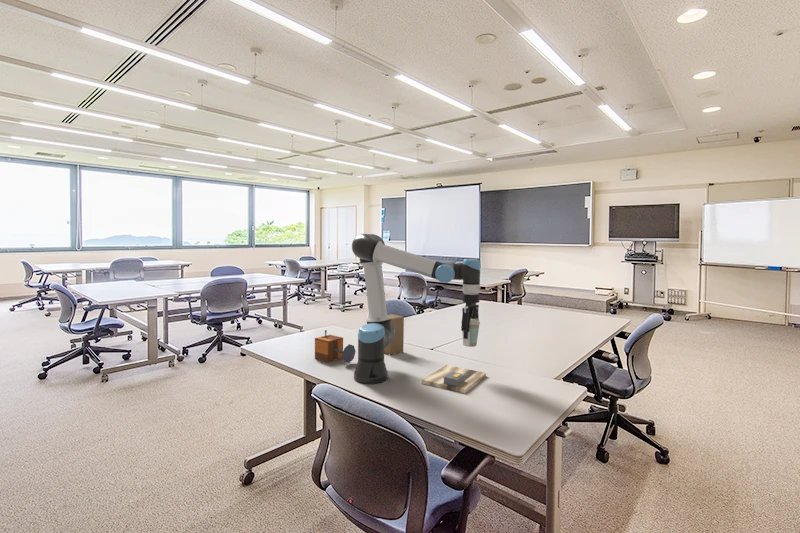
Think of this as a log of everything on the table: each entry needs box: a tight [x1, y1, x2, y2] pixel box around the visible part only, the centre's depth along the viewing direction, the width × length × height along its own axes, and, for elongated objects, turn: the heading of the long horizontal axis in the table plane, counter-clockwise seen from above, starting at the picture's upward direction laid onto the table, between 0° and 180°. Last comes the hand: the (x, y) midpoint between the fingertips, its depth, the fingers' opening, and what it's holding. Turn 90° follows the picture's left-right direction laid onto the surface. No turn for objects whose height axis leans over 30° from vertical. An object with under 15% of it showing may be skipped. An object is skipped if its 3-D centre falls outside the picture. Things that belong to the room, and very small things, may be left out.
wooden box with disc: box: [314, 329, 357, 364], centre depth 199 cm, size 11×20×14 cm, turn 51°
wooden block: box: [384, 313, 405, 356], centre depth 215 cm, size 10×10×20 cm
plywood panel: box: [421, 364, 487, 394], centre depth 173 cm, size 20×25×2 cm
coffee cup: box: [460, 318, 481, 348], centre depth 175 cm, size 9×8×12 cm
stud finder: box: [444, 372, 465, 387], centre depth 165 cm, size 6×8×3 cm
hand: (469, 343), depth 175 cm, fingers closed on coffee cup, 8 cm apart
